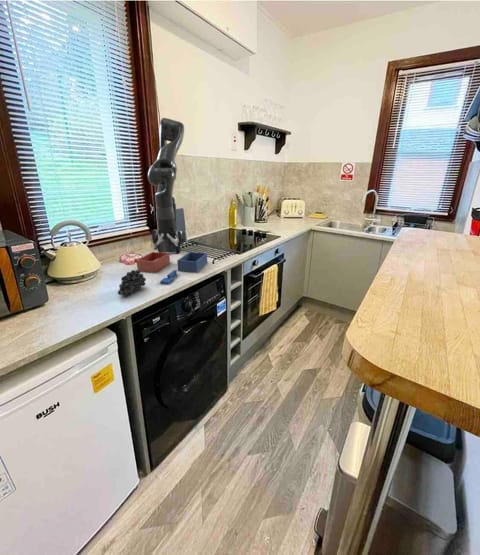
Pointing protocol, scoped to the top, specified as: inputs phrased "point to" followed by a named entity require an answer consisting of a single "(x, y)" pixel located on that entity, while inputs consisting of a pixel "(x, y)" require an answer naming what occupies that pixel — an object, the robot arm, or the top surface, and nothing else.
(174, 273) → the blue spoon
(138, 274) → the fruit
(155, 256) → the red bin
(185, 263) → the blue bin
